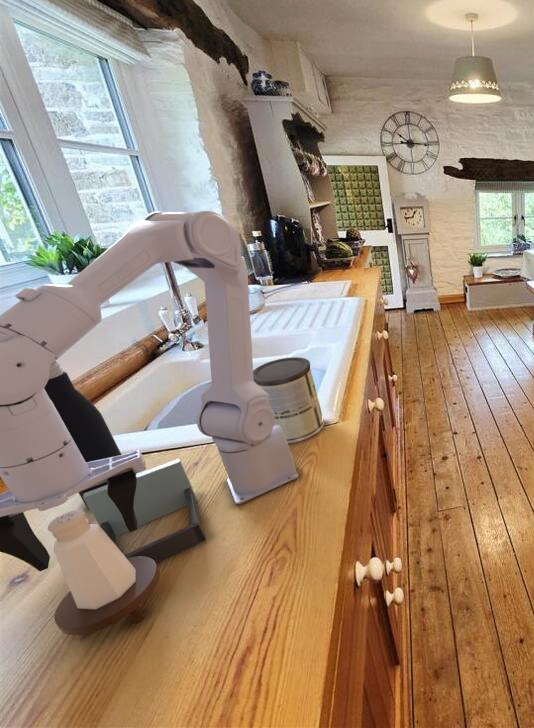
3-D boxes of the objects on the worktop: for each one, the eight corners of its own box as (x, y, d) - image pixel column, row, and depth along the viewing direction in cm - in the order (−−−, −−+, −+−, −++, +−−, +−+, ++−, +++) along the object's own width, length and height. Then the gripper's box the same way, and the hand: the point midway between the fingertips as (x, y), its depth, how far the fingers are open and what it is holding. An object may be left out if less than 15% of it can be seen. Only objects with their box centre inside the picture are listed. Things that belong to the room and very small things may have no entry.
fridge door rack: (196, 497, 67) (179, 458, 64) (207, 539, 59) (188, 496, 56) (107, 535, 61) (83, 493, 57) (106, 587, 53) (78, 542, 49)
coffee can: (261, 432, 84) (241, 370, 78) (310, 410, 91) (294, 352, 86) (283, 451, 78) (263, 385, 72) (334, 426, 85) (319, 365, 79)
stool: (165, 565, 55) (154, 543, 54) (171, 613, 49) (159, 590, 48) (73, 610, 50) (58, 587, 48) (67, 670, 44) (49, 647, 42)
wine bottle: (146, 482, 71) (67, 319, 59) (110, 510, 65) (14, 335, 53) (113, 480, 72) (28, 319, 60) (74, 508, 66) (-29, 335, 54)
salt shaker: (124, 602, 46) (80, 530, 42) (65, 618, 45) (13, 545, 41) (146, 562, 51) (109, 494, 47) (93, 575, 50) (50, 506, 45)
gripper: (-93, 507, 35) (-9, 610, 41) (125, 436, 44) (171, 529, 50) (-68, 468, 40) (4, 565, 46) (124, 411, 49) (165, 498, 55)
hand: (91, 544), depth 48 cm, fingers open, 7 cm apart
